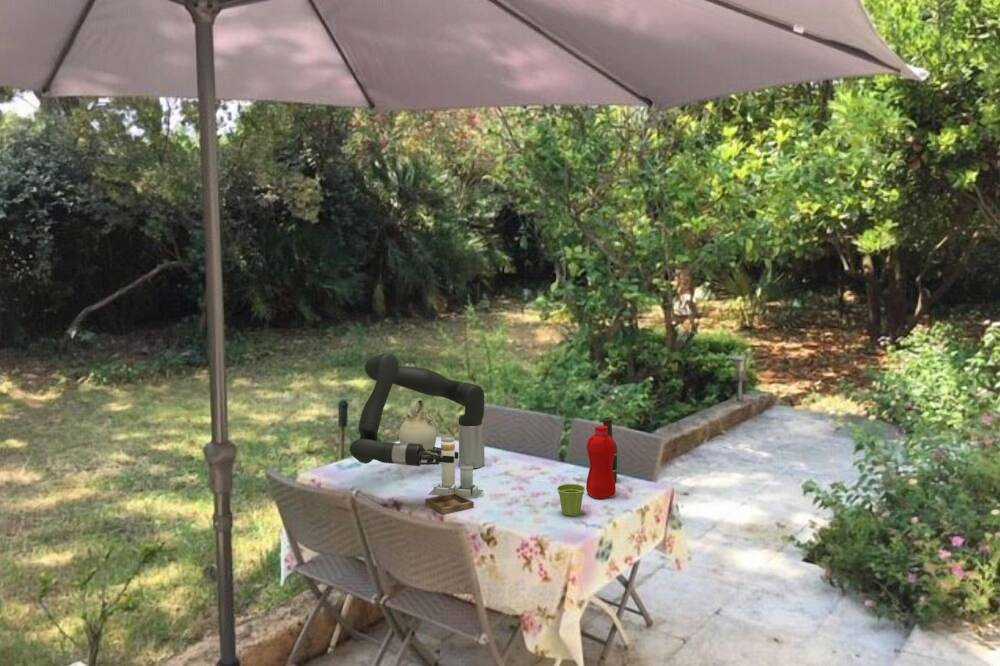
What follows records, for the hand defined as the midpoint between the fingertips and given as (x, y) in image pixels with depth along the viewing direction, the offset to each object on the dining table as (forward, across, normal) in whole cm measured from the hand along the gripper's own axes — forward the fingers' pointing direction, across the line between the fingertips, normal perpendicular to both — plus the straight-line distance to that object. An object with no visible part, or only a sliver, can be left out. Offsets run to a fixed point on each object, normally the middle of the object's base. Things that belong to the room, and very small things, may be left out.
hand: (455, 457), depth 273 cm
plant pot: (+38, +4, +18) cm, 43 cm away
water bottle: (+45, +25, +18) cm, 55 cm away
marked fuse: (-3, 0, +9) cm, 10 cm away
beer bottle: (+46, +41, +18) cm, 64 cm away
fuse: (0, +14, +17) cm, 22 cm away
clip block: (-4, +14, +18) cm, 23 cm away
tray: (-2, 0, +18) cm, 18 cm away
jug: (-34, +56, +18) cm, 68 cm away
